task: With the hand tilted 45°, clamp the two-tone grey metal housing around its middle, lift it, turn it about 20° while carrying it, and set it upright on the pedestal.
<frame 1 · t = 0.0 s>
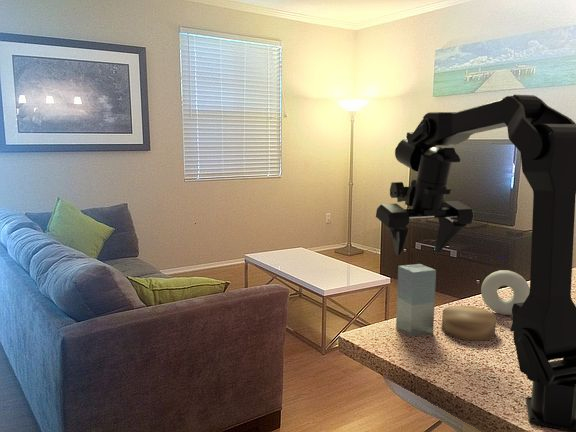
hand: (417, 252, 95), 15 cm above the countertop, tool pointing down, fingers open, 9 cm apart
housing: (414, 330, 95), on the countertop
donut: (503, 315, 104), on the countertop
pedestal: (467, 330, 95), on the countertop
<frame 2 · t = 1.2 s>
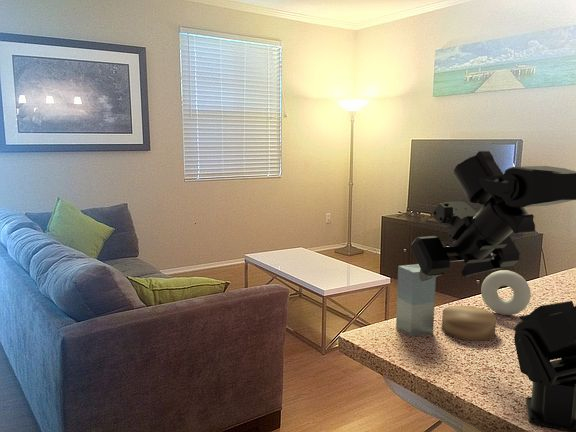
hand: (442, 276, 86), 13 cm above the countertop, tool tilted 45°, fingers open, 9 cm apart
nothing on the countertop moved.
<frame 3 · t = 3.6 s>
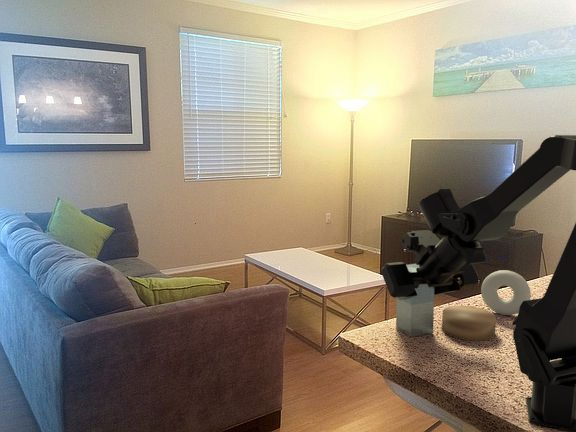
hand: (411, 296, 96), 7 cm above the countertop, tool tilted 45°, fingers closed on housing, 6 cm apart
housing: (414, 330, 95), on the countertop, touching gripper
everything else where it was.
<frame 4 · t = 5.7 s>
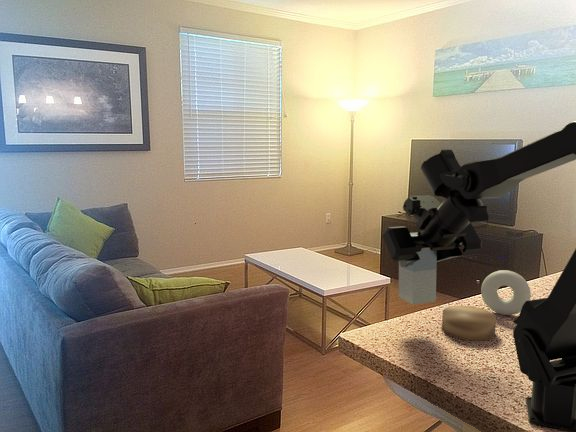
hand: (413, 263, 95), 13 cm above the countertop, tool tilted 45°, fingers closed on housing, 5 cm apart
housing: (416, 299, 94), point 7 cm above the countertop, touching gripper
everything else where it was.
when the fingers open (11 cm above the countertop, at t = 7.6 s): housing stays where it is, resting on pedestal.
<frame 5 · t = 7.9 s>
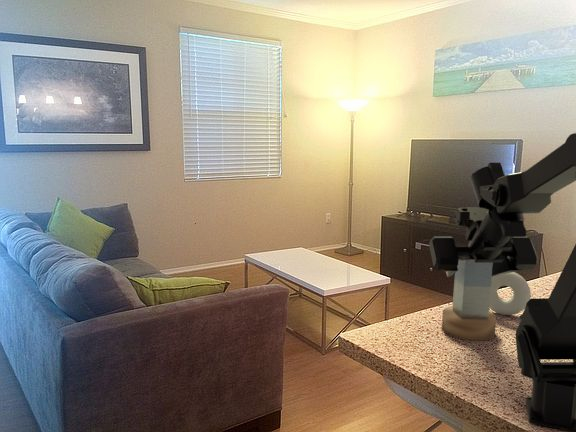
hand: (468, 274, 95), 11 cm above the countertop, tool tilted 45°, fingers open, 8 cm apart
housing: (469, 314, 95), point 4 cm above the countertop, touching pedestal
everything else where it was.
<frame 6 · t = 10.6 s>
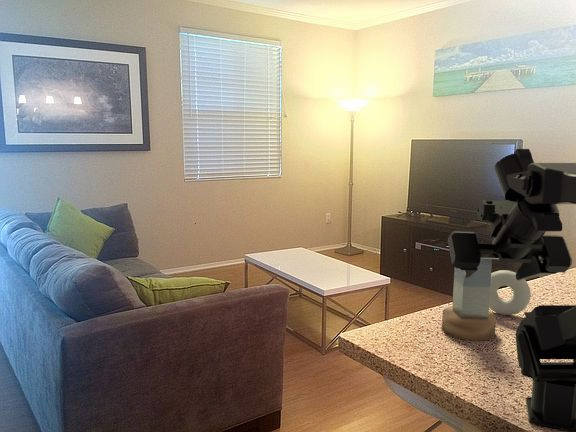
hand: (491, 276, 85), 14 cm above the countertop, tool tilted 45°, fingers open, 9 cm apart
nothing on the countertop moved.
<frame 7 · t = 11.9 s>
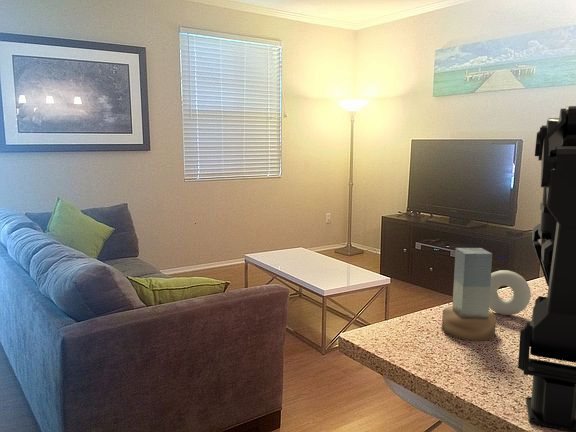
hand: (554, 294, 77), 13 cm above the countertop, tool pointing down, fingers open, 9 cm apart
nothing on the countertop moved.
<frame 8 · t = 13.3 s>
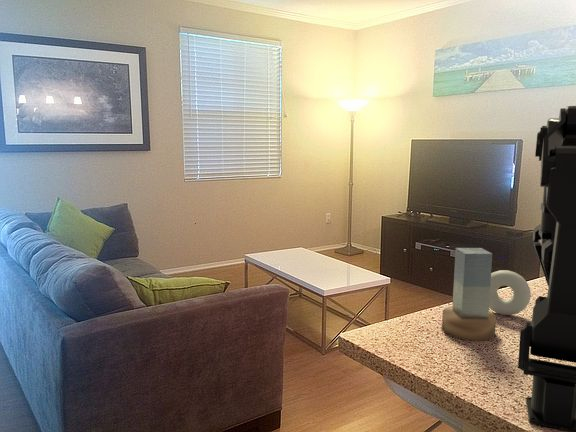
hand: (555, 295, 76), 13 cm above the countertop, tool pointing down, fingers open, 9 cm apart
nothing on the countertop moved.
at the end: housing 0.2 cm off-centre on the pedestal, point 3.5 cm above the pedestal's base; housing tilted 0°; the gripper is holding nothing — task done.
